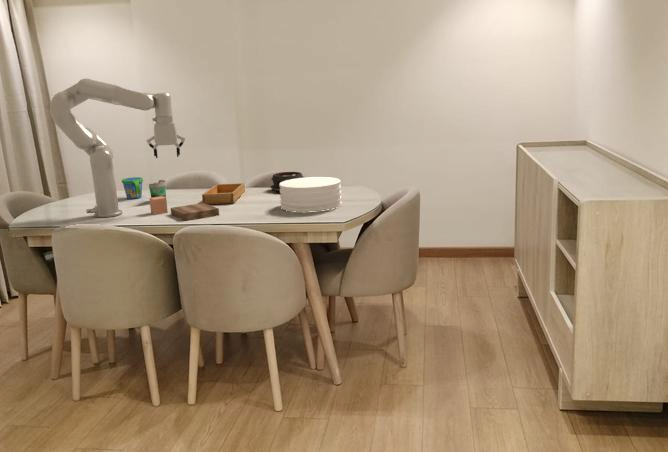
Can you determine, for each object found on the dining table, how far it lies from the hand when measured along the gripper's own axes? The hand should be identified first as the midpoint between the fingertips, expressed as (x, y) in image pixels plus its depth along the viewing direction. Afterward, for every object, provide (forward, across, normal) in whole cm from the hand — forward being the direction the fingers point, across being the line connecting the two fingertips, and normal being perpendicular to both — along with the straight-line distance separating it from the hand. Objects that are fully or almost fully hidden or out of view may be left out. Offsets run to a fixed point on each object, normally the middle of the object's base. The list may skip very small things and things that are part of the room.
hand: (167, 157), depth 324 cm
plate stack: (+24, +63, -25) cm, 72 cm away
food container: (+25, -5, +22) cm, 34 cm away
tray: (+25, +26, +15) cm, 39 cm away
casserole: (+24, +60, +24) cm, 69 cm away
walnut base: (+24, +10, -19) cm, 33 cm away
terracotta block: (+25, -6, -7) cm, 26 cm away
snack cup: (+25, -19, +40) cm, 50 cm away
